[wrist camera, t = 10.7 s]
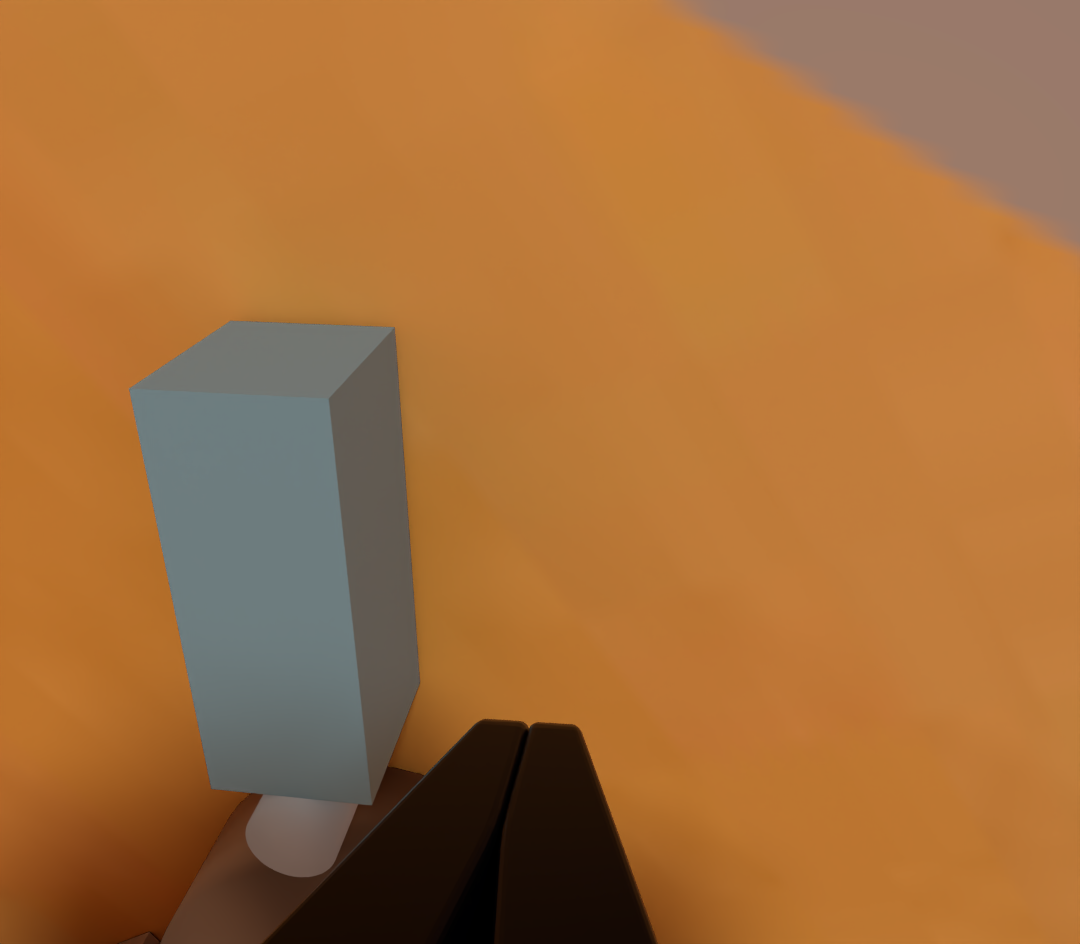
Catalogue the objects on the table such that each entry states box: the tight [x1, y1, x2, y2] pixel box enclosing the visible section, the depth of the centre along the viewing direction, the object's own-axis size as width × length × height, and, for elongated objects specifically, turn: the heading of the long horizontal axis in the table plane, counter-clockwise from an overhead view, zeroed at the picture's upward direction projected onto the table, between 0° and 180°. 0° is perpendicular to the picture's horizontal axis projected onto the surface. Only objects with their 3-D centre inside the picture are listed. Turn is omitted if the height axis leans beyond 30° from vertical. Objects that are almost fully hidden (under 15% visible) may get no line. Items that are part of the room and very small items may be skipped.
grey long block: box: [129, 321, 420, 877], centre depth 20 cm, size 11×4×4 cm, turn 0°
